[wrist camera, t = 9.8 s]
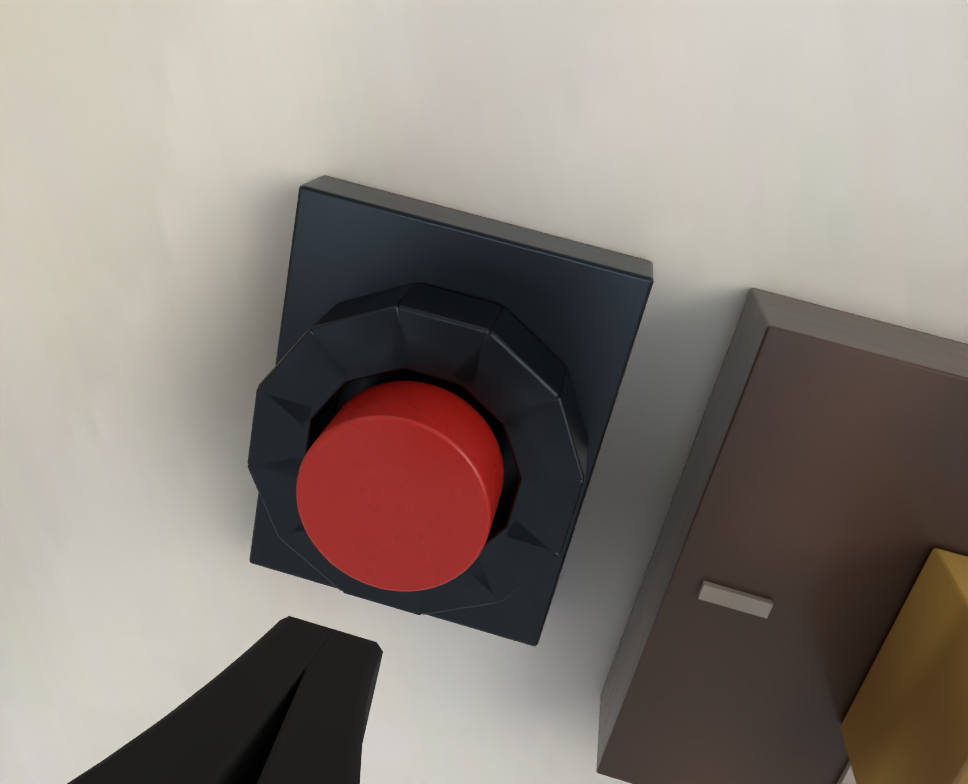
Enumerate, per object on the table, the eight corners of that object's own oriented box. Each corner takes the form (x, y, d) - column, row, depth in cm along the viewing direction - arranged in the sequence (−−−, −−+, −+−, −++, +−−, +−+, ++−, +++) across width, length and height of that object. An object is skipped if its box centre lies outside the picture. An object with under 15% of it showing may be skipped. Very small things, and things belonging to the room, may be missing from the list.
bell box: (322, 173, 18) (265, 199, 15) (653, 261, 17) (656, 303, 15) (270, 531, 21) (217, 605, 19) (543, 611, 21) (528, 697, 18)
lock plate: (1260, 421, 17) (1368, 486, 14) (996, 813, 21) (1043, 914, 19) (751, 286, 17) (769, 328, 15) (600, 695, 22) (595, 779, 19)
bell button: (341, 357, 16) (309, 392, 15) (524, 408, 16) (511, 449, 14) (314, 514, 18) (283, 561, 16) (482, 563, 18) (466, 615, 16)
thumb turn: (910, 747, 18) (982, 935, 14) (837, 727, 18) (890, 908, 14) (1013, 567, 16) (1127, 729, 12) (932, 545, 16) (1020, 699, 12)
